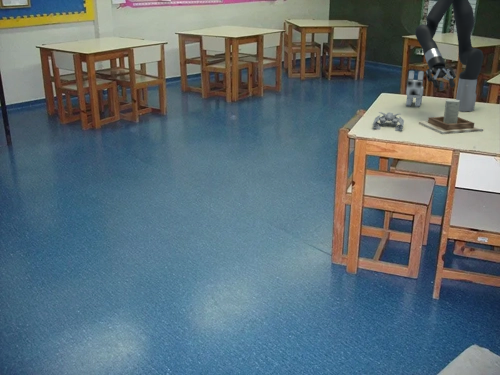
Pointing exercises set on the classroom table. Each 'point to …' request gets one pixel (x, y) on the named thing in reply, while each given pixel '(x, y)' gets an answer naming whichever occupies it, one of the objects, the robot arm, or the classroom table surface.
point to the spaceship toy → (390, 118)
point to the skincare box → (451, 111)
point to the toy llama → (414, 89)
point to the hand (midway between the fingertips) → (445, 87)
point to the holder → (450, 125)
